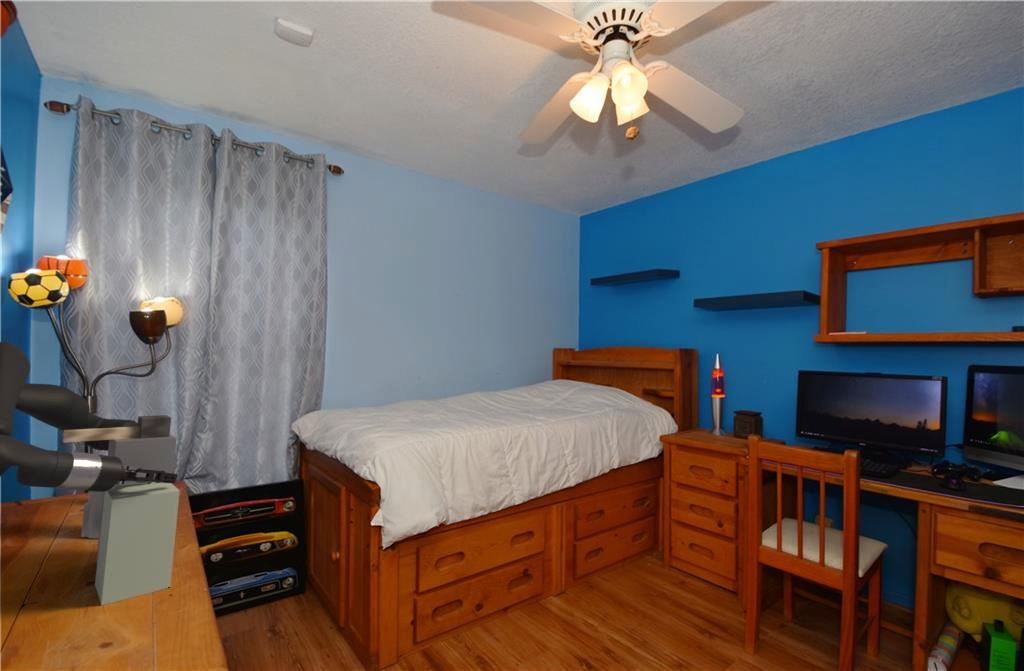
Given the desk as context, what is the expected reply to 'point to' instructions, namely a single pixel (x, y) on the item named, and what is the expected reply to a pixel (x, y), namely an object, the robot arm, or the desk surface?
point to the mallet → (124, 430)
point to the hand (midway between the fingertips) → (163, 478)
